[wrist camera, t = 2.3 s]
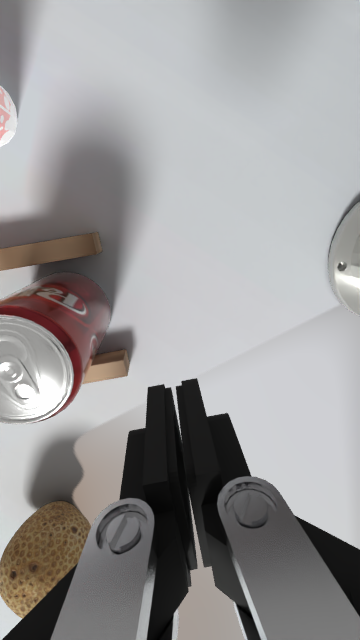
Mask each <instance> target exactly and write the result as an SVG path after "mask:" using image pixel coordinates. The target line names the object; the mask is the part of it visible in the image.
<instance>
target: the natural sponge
mask: <svg viewBox="0 0 360 640" xmlns="http://www.w3.org/2000/svg"><path fill="white" fill-rule="evenodd" d="M90 529H91V526H90V524H89V522H88V520H87V519H86V518H85V517H84V516H83V515H82V513H81V512H80V511H79V510H78V509H77V508H76V507H75V506H74V505H72V504H70V503H68V502H65V501H55V502H51V503H49V504H46V505H45V506H43V507H42V508H40V509H39V510H37V511H36V512H35V513H34V514H33V515H31V516H30V517H29V518H28V519H27V520H26V521H25V522H24V523H23V524H22V525H21V527H20V528H19V529H18V530H17V532H16V533H15V534H14V536H13V537H12V539H11V540H10V542H9V543H8V545H7V547H6V548H5V550H4V553H3V555H2V558H1V561H0V595H1V597H2V599H3V600H4V602H5V603H6V605H7V606H8V607H9V608H10V609H11V610H12V611H13V612H14V613H15V614H17V615H18V616H19V617H21V618H24V617H25V616H26V615H27V614H28V613H29V612H30V611H31V610H32V609H33V608H34V607H35V606H36V605H37V604H38V603H39V602H40V601H41V600H42V599H43V598H44V597H45V596H46V595H47V594H48V593H49V591H50V590H51V589H52V588H53V587H54V586H55V585H56V584H57V583H58V582H59V581H60V580H61V579H62V578H63V577H64V576H65V575H66V574H67V573H68V572H69V571H70V570H71V569H72V568H73V567H74V566H75V565H76V564H77V563H78V562H79V559H80V556H81V554H82V551H83V548H84V545H85V543H86V540H87V537H88V534H89V531H90Z"/></svg>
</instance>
